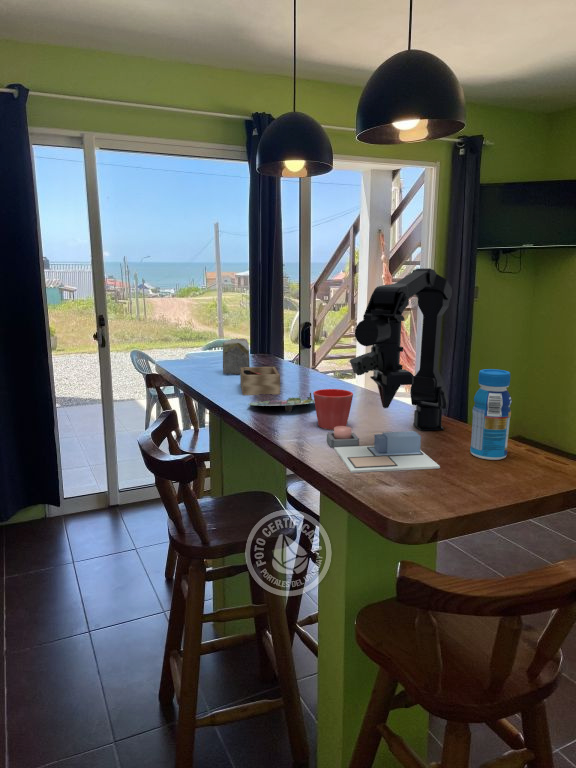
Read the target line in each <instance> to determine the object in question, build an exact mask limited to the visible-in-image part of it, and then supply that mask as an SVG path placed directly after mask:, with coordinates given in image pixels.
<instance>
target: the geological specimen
mask: <svg viewBox="0 0 576 768" xmlns="http://www.w3.org/2000/svg"><path fill="white" fill-rule="evenodd" d="M240 367H251V365H250V347H249V342H248V339H247V338H238V337H236V338H231V339H228V340H226V341H224V342H222V372H223V374H227V375H230V374H231V375H237V376H238V375H240Z"/></svg>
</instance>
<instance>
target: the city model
mask: <svg viewBox="0 0 576 768" xmlns="http://www.w3.org/2000/svg"><path fill="white" fill-rule="evenodd" d="M270 399H271V397H270V396H269V397H268V400H264V401H263V402H261V401H260V400H258V401H254V402H253V401H252V402H250V403H248V405H249V406H262V407H264V406H266V407H267V406H269V407H271V406H279V407H280V406H284V411H285V412H293V410H292V409H293V406H296V405H306V404H307V405H308V404H313V403H314V404H315V401H314V398H313V397H312V392H309V396H307V398H304V399H302V396H301V395H299V396H298V397H289V398H288V399H282V400H281V399H279V400H273V399H272V400H271V401H270Z"/></svg>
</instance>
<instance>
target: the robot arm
mask: <svg viewBox="0 0 576 768" xmlns="http://www.w3.org/2000/svg"><path fill="white" fill-rule="evenodd" d="M452 295H453V289H452V286H451V284H450V282H449V281H448V280H447V279H446V278H444V277H443V276H441V275H439V274H437V272H436V271H435V269H432V268H430V267H429V268H422V267H421V268H416V269H413V270H412V271H411V272H410V273H409V274H407V275H406V276H404V277H402V279H400V280H398V281H397V282H395V283H391V284H390V283H389V284H383V285H378V286H376V288H374V290H373V292H372V294H371V296H370V298H369V301H368V304H367V306H366V309H365V311H364V313H363V315H362V317H363V320H361V321H359V323H357V325H356V327H355V329H354V337H355V340H356V341H357V343H358V344H360V346H364V347H370V346H371V348H370V349H371V351H370V352H367V353H366V352H365V353H363V354H361V355H359V356H356V357H353V358H351V359H349V363H350V365H351V368H352V371H353V372H352V373H354V374H356V376H362V375H365V374H368V373H369V371H370V372H373V373H372V375H373V376H372V375H371V376H370V377H369V378H370V379H371V381H373V382H374V383H375V384H377V389H378V394H379V397H380V398H379V399H380V401H381V405H382V407H383V409H388V408H390V404H391V403H392V401H393V400H394V398H395V396H396V394H397V392H398V390H399V389H400V388H401V386H410V389H409V392H410V400H411V406H416V409H415V410H414V414H413V426H414V427H416V428H417V429H419V430H420V431H443V430H445V429H444V427H443V426H442V421H443V420H442V418H443V409H447V408H448V404H449V397H448V394H447V392H446V390H445V387H444V378H443V377H442V375H441V373H440V370H439V361H440V359H439V358H440V348H441V347H440V346H441V345H440V344H441V334H442V333H441V332H442V323H443V322H442V318H443V315H444V314H445V312H446V310H448V308H449V307H450V301H451V299H452ZM413 296H416V298H417V307H418V308H419V310H420V312H421V314H422V315H423V316H422V317H423V318H422V331H421V344H420V360H419V369H418V371H417V372H416V374H415V375H414V374H413V373H412V372H411V371H409V370H407V369H404V368H403V364H401V352H402V353H403V352H404V346H401V340H402V339H401V337H402V322H404V321H405V316H403V313H404V311H405V310H406V309H407V307H408V306H409V305H410V301H409V300H410V299H411V298H413Z"/></svg>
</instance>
